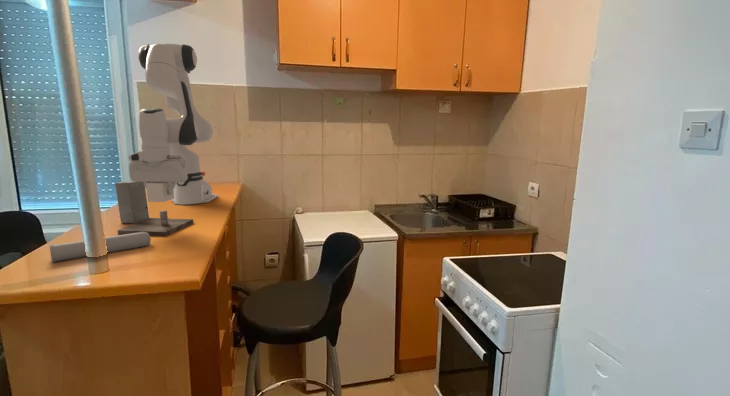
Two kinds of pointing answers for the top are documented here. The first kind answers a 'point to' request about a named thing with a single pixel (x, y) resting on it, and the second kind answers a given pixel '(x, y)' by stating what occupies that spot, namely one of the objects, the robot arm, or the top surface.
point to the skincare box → (132, 201)
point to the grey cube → (158, 192)
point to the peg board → (157, 225)
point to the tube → (112, 243)
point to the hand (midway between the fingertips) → (160, 194)
